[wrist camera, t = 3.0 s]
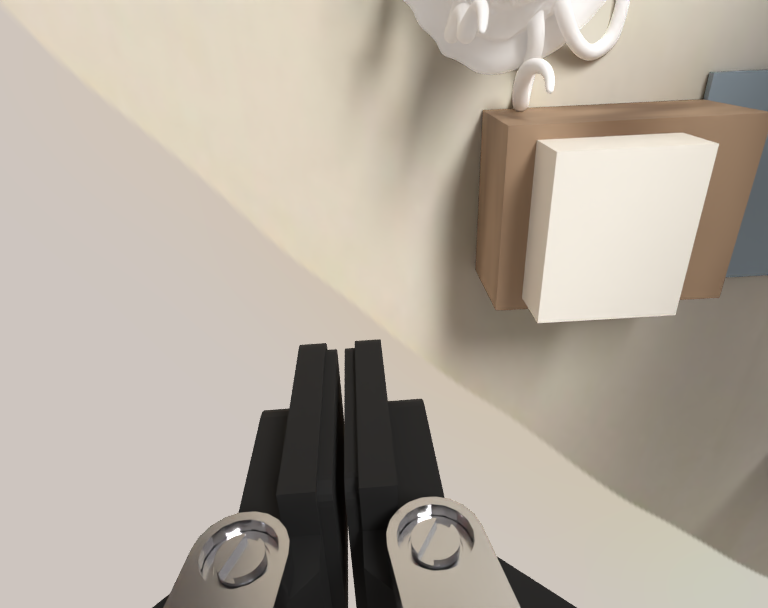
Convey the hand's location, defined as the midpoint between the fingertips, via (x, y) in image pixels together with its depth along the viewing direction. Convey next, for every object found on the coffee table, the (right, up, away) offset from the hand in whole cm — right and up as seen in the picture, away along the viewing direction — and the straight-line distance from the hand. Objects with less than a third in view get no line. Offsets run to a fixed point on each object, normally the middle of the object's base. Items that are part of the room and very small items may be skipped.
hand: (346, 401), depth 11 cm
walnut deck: (+9, +7, +12) cm, 16 cm away
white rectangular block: (+9, +5, +8) cm, 13 cm away
